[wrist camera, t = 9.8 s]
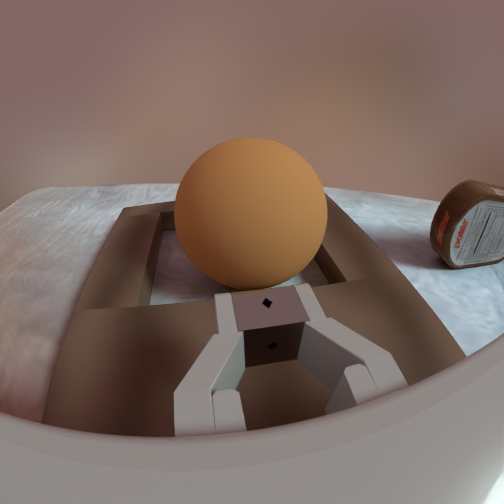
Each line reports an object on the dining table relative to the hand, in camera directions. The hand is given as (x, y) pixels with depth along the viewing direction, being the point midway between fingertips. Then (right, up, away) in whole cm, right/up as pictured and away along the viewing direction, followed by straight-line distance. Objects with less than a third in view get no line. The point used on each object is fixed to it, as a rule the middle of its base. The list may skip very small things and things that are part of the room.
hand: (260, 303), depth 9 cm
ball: (0, +4, +9) cm, 10 cm away
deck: (-1, -3, +8) cm, 8 cm away
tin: (+23, +1, +13) cm, 26 cm away
